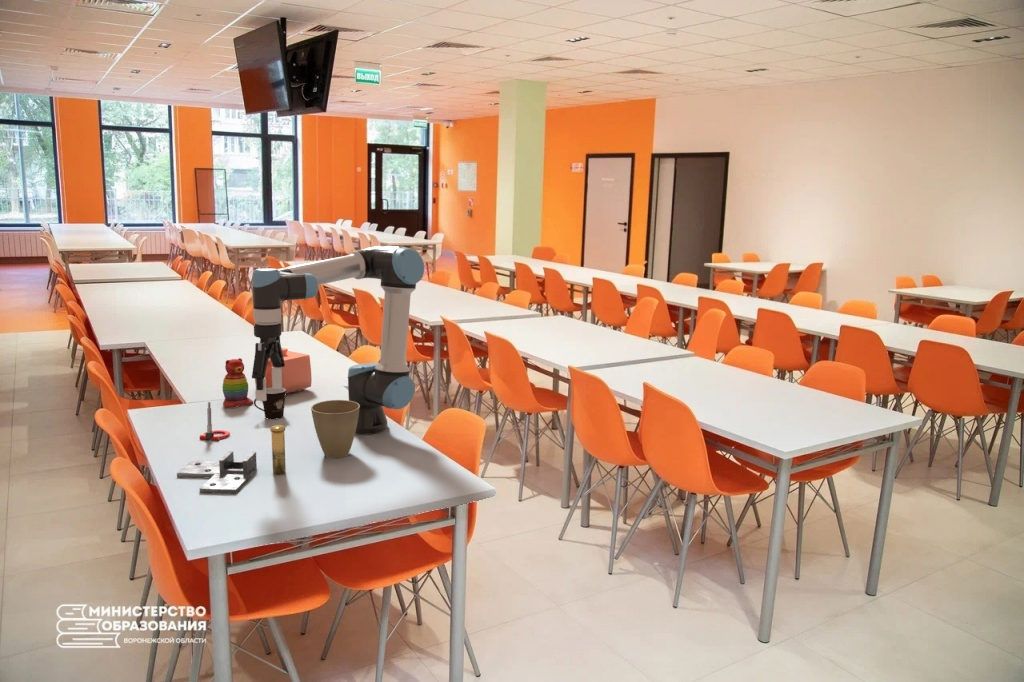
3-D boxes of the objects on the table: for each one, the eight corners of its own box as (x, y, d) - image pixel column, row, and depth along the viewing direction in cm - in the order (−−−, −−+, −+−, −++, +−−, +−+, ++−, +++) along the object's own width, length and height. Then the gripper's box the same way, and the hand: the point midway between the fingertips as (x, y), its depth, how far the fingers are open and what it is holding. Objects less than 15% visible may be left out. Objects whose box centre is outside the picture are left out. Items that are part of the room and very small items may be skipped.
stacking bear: (226, 409, 285) (224, 363, 282) (217, 403, 293) (215, 358, 290) (255, 404, 292) (253, 360, 289) (245, 399, 300) (243, 355, 296)
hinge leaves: (261, 466, 228) (260, 450, 227) (236, 493, 207) (235, 476, 206) (191, 464, 228) (190, 448, 227) (159, 491, 207) (158, 474, 206)
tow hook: (211, 432, 260) (196, 439, 250) (211, 395, 258) (195, 401, 249) (234, 434, 258) (220, 441, 249) (234, 397, 256) (219, 403, 247)
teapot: (235, 390, 312) (233, 348, 309) (278, 379, 331) (277, 339, 328) (277, 400, 299) (275, 356, 296) (319, 388, 318) (318, 347, 315)
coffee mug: (284, 412, 283) (283, 386, 281) (288, 418, 276) (287, 392, 274) (251, 415, 278) (250, 389, 276) (254, 422, 271) (253, 395, 269)
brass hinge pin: (288, 470, 225) (287, 425, 222) (284, 475, 221) (282, 429, 218) (274, 470, 225) (272, 425, 222) (269, 475, 221) (268, 429, 218)
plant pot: (304, 452, 241) (303, 404, 238) (347, 444, 250) (347, 397, 247) (324, 466, 230) (322, 415, 227) (368, 457, 239) (368, 408, 235)
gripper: (269, 315, 229) (271, 383, 233) (237, 329, 205) (240, 405, 209) (293, 316, 229) (295, 384, 233) (265, 330, 205) (267, 406, 209)
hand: (269, 394), depth 221 cm, fingers open, 13 cm apart
